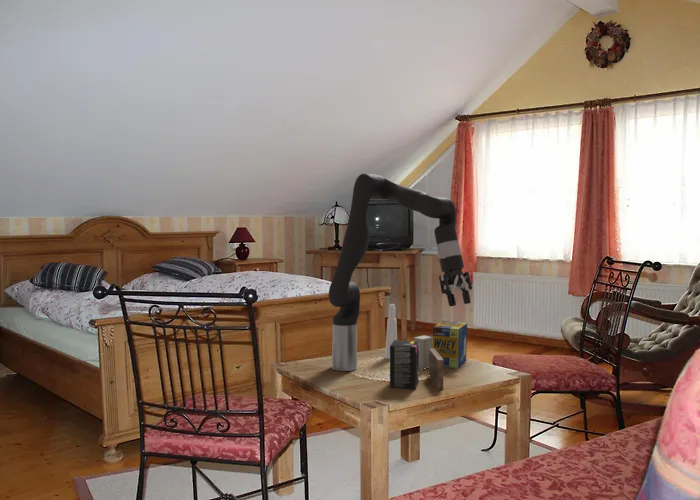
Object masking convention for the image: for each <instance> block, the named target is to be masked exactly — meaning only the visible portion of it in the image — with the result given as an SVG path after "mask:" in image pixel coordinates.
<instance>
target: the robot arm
mask: <svg viewBox="0 0 700 500" xmlns="http://www.w3.org/2000/svg"><path fill="white" fill-rule="evenodd" d="M352 190H353V191H352V197H351V198H352V199H351V204H350V212H349V215H348V216H349V217H348V221H347V225H346V229H345V233H344V237H343V241H342V244H341V250H340V254H339V257H338V262H337V264H336V265H337V266H336V268H335V271H334V275H333V277H332V281H331V282H330V285H329V289H328V300H329V303H330V304H331V305H332V306H333V307H336V308H339V310H338V311H337V313H335V314H334V315H333V317H332V348H331V351H332V353H331V354H332V355H331V358H332V361H331V364H332V365H331V368H332V371H338V372H339V371H340V372H350V371H355V370H357V365H358V364H357V363H358V359H357V356H358V355H357V354H358V351H357V349H358V347H357V346H358V319H359V316H360V308H361V305H360V303H361V291H360V288H359V286H358V284H357V283H356V282H354V281H352V280H351V279H352V276H353V273H354V272H355V271H356V269H357V267H358V266H359V264H360V263H361V262H362V260H363V258H364V257H365V255H366V254H367V250H368V246H369V243H370V237H371V231H370V227H369V222H368V217H367V215H368V214H367V213H368V207H369V203H370V201H371V200H374V201H375V200H385V201H392V202H394V203H397V204H398V205H399V206H401V207H403V208H405V209H408V210H410V211H414V212H418V213H420V214H421V215H423V216H425V217H427V218H430V219H431V218H432V219H435V220H436V219H438V220H439V221H438V226H436V227H435V229H434V237H435V243H436V248H437V256H438V260H439V265H440V270H441V272H442V273H443V274H440V275H439V276H438V278H439V285H440V290H441V294H445V295H446V297H447V302H448V306H449V307H455V306H456V305H457V302H456V297H455V293H454V292H455V290H456V288H457V289H459V291H461V294H462V300H463V304H464V305H468V304H471V303H472V302H471V295H470V291H472V290H473V285H472V281H471V279H470V278H471V277H470V274H469V273H470V272H468V271H466V272H465V271H464V272H463V271H462V270H463V269H464V268H465V264H464V259H463V254H462V251H461V250H462V249H461V247H460V243H459V241H458V236H457V231H456V223H457V222H456V220H457V219H456V218H457V210H456V206H455V203H454V201H453V200H452V199H451V198H449V197H442V196H441V197H439V196H432V195H429V194H428V193H427V192H424V191H421V190H419V189H415V188H410V187H407V186H403V185H400V184H399V183H395V182H394V181H392V180H389V179H388V178H386V177H384V176H382V175H380V174H377V173H361V174H359V175H358V176H357V178H356V179H355V182H354V186H353V189H352Z"/></svg>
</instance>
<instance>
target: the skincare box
mask: <svg viewBox="0 0 700 500" xmlns="http://www.w3.org/2000/svg"><path fill="white" fill-rule="evenodd" d="M413 341H419V369H424V368H428V367H429V349H432V342H433V336H430V335H418V336H414V337H413Z"/></svg>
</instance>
